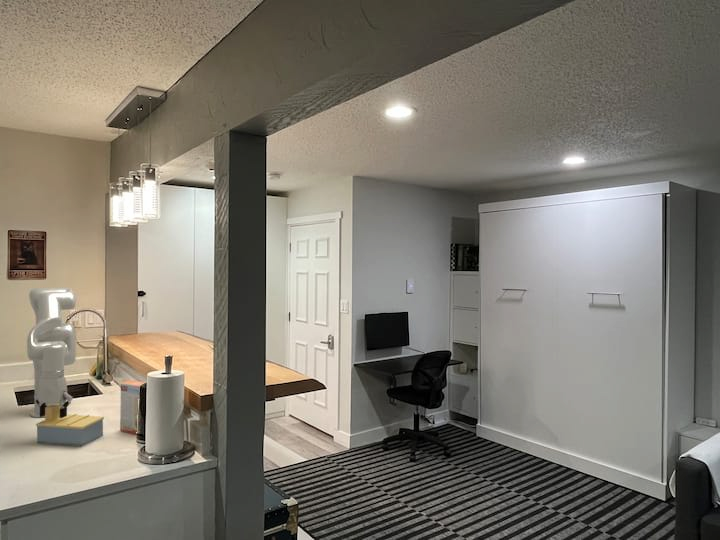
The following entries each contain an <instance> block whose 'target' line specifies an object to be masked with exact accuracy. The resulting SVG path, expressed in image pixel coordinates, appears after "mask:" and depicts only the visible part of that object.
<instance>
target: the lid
mask: <svg viewBox="0 0 720 540" xmlns="http://www.w3.org/2000/svg"><path fill="white" fill-rule="evenodd" d="M60 408H61V407H60V405H59V404H53V405H50V406H47V407H45V417H44V420H42V421H39V422H37V423H35V426H36V427H37V426H46V427H60V428H74V429H84V428H86V427H88V426H90V425H92V424H94V423H96V422H98V421H100V420H102V419H103V420H104V419H105V416H95V415H90V414H87V415H83V414H82V415H81V414H77V413H75V414H68V413H67V416H66V417H63V418H60Z"/></svg>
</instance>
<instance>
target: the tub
mask: <svg viewBox="0 0 720 540" xmlns="http://www.w3.org/2000/svg"><path fill="white" fill-rule="evenodd" d="M103 435H104V419H102V420H100V421H98V422H96V423H94V424H92V425H90V426H88V427H86V428H84V429H74V428H60V427H46V426H36V443H38V444H45V443H49V444H48V445H58V444H62V446H71V445H79V446H78V447H84V446H86V445H88V444H89V442H90V443H92V442H94V441H95V440H97V439H100V438H101V437H103ZM91 441H92V442H91ZM87 443H88V444H87ZM85 444H86V445H85ZM83 445H84V446H83Z"/></svg>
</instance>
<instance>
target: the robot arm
mask: <svg viewBox="0 0 720 540" xmlns="http://www.w3.org/2000/svg"><path fill="white" fill-rule="evenodd" d="M28 295H29V296H28V297H29V302H30V306H31V308H32V310H33V311H34V314H35V325H34V326H33V327H32V328H31V330H30V331H29V332H28V334H27V336H26V337H27V339H26V353H27V358H28V359H29V360H31V361H32V365H33V373H34V395H33V398H34V410H33V411H31V412H30V416H31V417H33V418H45V407H47V406H50V405H53V404H59V405H60V407H61V408H60V418H63V417H66V416H67V414H68V407H69V405H71V403H72V401H73V399H74V396H71V394H69V393H68V385H67V379H66V377H65V366H71V365H73V364H74V363H75V362H76V359H77V358H76V356H77V355H76V353H77V352H76V351H77V350H76V349H77V348H76V344H77V343H76V329H75V326H74V325H73V324H72V323H69V322H64V323H63V321H62V311H64V310H66V311H67V310H69V311H70V310H74V308H75V307H76V301H77V298H76V294H75V292H74V290H73V289H72V288H71V287H38V288H33V289H31V290H30V291H29V294H28ZM35 340H36V341H35Z"/></svg>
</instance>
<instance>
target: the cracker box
mask: <svg viewBox="0 0 720 540" xmlns="http://www.w3.org/2000/svg"><path fill="white" fill-rule="evenodd" d="M144 383H145V382H144V381H143V382H142V381H137V380H136V381H135V380H128V381H124V382H121V383H120V411H119V413H120V415H119V417H120V418H119V419H120V421H119V423H120V425H119V429H120V430H119V431H120V432H124V433H125V432H126V433H130V434H134V435H137V434H136V432H137V415H138V399H139V389H140V386H141V385H142V384H144Z"/></svg>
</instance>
